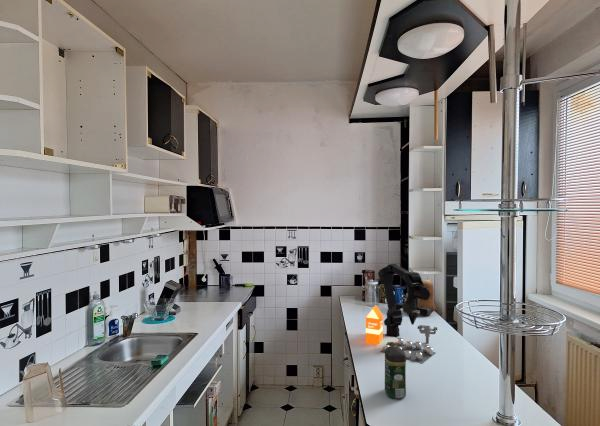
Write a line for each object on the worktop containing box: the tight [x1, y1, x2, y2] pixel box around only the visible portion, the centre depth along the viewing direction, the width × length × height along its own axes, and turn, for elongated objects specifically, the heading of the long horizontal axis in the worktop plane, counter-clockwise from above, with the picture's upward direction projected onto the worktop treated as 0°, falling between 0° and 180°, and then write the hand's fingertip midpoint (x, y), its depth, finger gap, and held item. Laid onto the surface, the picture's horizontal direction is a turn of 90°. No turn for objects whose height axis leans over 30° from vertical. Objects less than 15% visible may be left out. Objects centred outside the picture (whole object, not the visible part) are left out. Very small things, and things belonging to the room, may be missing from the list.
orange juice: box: [365, 305, 384, 346], centre depth 214 cm, size 8×9×20 cm
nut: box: [386, 341, 396, 347], centre depth 203 cm, size 4×5×3 cm
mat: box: [379, 341, 437, 365], centre depth 198 cm, size 23×18×1 cm
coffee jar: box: [384, 347, 407, 400], centre depth 156 cm, size 10×8×19 cm
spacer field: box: [383, 337, 434, 361], centre depth 197 cm, size 22×18×4 cm
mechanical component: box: [417, 324, 438, 345], centre depth 210 cm, size 3×10×10 cm, turn 78°
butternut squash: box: [415, 279, 436, 317], centre depth 264 cm, size 14×13×25 cm
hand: (412, 324), depth 207 cm, fingers closed
